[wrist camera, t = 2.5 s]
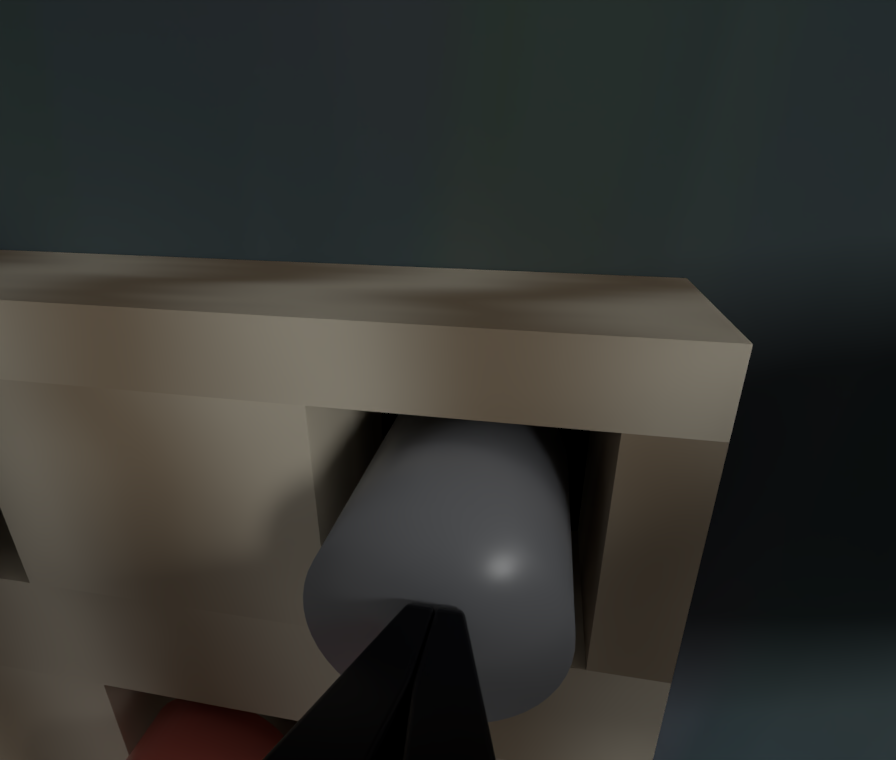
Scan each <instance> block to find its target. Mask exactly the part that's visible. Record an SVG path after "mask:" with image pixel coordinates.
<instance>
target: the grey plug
mask: <svg viewBox="0 0 896 760" xmlns="http://www.w3.org/2000/svg"><path fill="white" fill-rule="evenodd" d="M410 603H413V604H420V605H427V606H432V607H433V608H434V609H435V611H436V610H437V609H438V608H448V609H455V610H461V611H463V612H464V614H465V617H466V621H467V626H468V630H469V635H470V640H471V645H472V649H473V654H474V659H475V663H476V668H477V673H478V677H479V682H480V687H481V692H482V696H483V701H484V706H485V710H486V715H487V720H488V722H493V721H499V720H503V719H506V718H510V717H514V716H516V715H519V714H521V713H524V712H526V711H528V710H530V709H532V708H533V707H535V706H537V705H539V704H540V703H541V702H543V701H544V700H545V699H547V698H548V697H549V696H550V695H551V694H552V693H553V692H554V691H555V690H556V689H557V688H558V687H559V686H560V684H561V683H562V681H563V680H564V678H565V677H566V676H567V673H568V671H569V669H570V666H571V664H572V661H573V656H574V652H575V638H576V635H575V612H574V589H573V566H572V543H571V520H570V497H569V474H568V459H567V451H566V448H565V444H564V441H563V439H562V436H561V434H560V432H559V430H558V428H557V427H545V426H534V425H522V424H511V423H499V422H488V421H476V420H465V419H453V418H441V417H430V416H418V415H407V414H399V415H398V416H397V418H396V419H395V421H394V423H393V424H392V426H391V428H390V430H389V431H388V433H387V435H386V436H385V438H384V440H383V442H382V443H381V445H380V447H379V448H378V450H377V452H376V454H375V455H374V457H373V459H372V460H371V462H370V464H369V466H368V467H367V469H366V471H365V472H364V474H363V476H362V478H361V479H360V481H359V483H358V484H357V486H356V488H355V490H354V491H353V493H352V495H351V496H350V498H349V500H348V502H347V503H346V505H345V507H344V508H343V510H342V512H341V514H340V515H339V517H338V519H337V520H336V522H335V524H334V526H333V527H332V529H331V531H330V532H329V534H328V536H327V538H326V539H325V541H324V543H323V545H322V546H321V548H320V550H319V551H318V553H317V555H316V557H315V558H314V560H313V562H312V564H311V566H310V568H309V570H308V573H307V576H306V579H305V582H304V590H303V608H304V613H305V618H306V622H307V625H308V628H309V630H310V633H311V635H312V637H313V639H314V641H315V643H316V645H317V647H318V648H319V650H320V651H321V653H322V654H323V655H324V657H325V658H326V660H327V661H328V662H329V663H330V664H331V665H332V666H333V668H334V669H335V670H336V671H337V672H338V673H339V674H340V675H341V674H342V673H343V672H344V671H345V670H346V669H347V668H348V667H349V666H350V665H351V663H352V662H353V661H354V660H355V659H356V658H357V657H358V656H359V655H360V654H361V653H362V652H363V651H364V649H365V648H366V647H367V646H368V645H369V644H370V643H371V642H372V641H373V640H374V639H375V638H376V637H377V635H378V634H379V633H380V632H381V631H382V630H383V629H384V628H385V627H386V626H387V625H388V624H389V622H390V621H391V620H392V619H393V618H394V617H395V616H396V615H397V614H398V613H399V612H400V611H401V610H402V608H403V607H404V606H406V605H407V604H410Z"/></svg>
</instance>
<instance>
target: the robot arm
mask: <svg viewBox="0 0 896 760" xmlns="http://www.w3.org/2000/svg"><path fill="white" fill-rule="evenodd" d="M262 760H496V757H495V753H494V748H493V743H492V739H491V734H490V729H489V724H488V720H487V715H486V710H485V706H484V701H483V696H482V692H481V687H480V682H479V677H478V673H477V668H476V663H475V659H474V654H473V649H472V645H471V640H470V635H469V630H468V626H467V621H466V617H465V614H464V612H463V611H461V610H455V609H448V608H438V609H437V610H436V611H435V609H434V608H433V607H432V606H427V605H420V604H413V603H410V604H407V605H406V606H404V607H403V608H402V610H401V611H400V612H399V613H398V614H397V615H396V616H395V617H394V618H393V619H392V620H391V621H390V622H389V624H388V625H387V626H386V627H385V628H384V629H383V630H382V631H381V632H380V633H379V634H378V635H377V637H376V638H375V639H374V640H373V641H372V642H371V643H370V644H369V645H368V646H367V647H366V648H365V649H364V651H363V652H362V653H361V654H360V655H359V656H358V657H357V658H356V659H355V660H354V661H353V662H352V663H351V665H350V666H349V667H348V668H347V669H346V670H345V671H344V672H343V673H342V674H341V675H340V676H339V677H338V679H337V680H336V681H335V682H334V683H333V684H332V685H331V686H330V687H329V688H328V689H327V690H326V691H325V693H324V694H323V695H322V696H321V697H320V698H319V699H318V700H317V701H316V702H315V703H314V704H313V705H312V707H311V708H310V709H309V710H308V711H307V712H306V713H305V714H304V715H303V716H302V717H301V718H300V720H299V721H298V722H297V723H296V724H295V725H294V726H293V727H292V728H291V729H290V730H289V731H288V732H287V734H286V735H285V736H284V737H283V738H282V739H281V740H280V741H279V742H278V743H277V744H276V745H275V746H274V748H273V749H272V750H271V751H270V752H269V753H268V754H267V755H266V756H265V757H264V758H263V759H262Z"/></svg>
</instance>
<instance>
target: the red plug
mask: <svg viewBox="0 0 896 760" xmlns="http://www.w3.org/2000/svg"><path fill="white" fill-rule="evenodd" d="M283 737H284V735H283V734H282V733H281V732H280V731H279V730H278V729H277V728H275V727H274V726H273V725H272V724H271V723H270V722H268V721H267V720H265V719H264V718H263V717H261V716H259V715H258V714H256V713H252V712H247V711H242V710H236V709H231V708H226V707H220V706H215V705H210V704H204V703H199V702H194V701H188V700H183V699H175V700H172V701H171V702H169V703H167V704H166V705H165V706H164V707H163V708H162V709H161V710H160V712H159V713H158V715H157V716H156V718H155V719H154V720H153V722H152V723H151V725H150V726H149V728H148V729H147V730H146V732H145V733H144V735H143V736H142V738H141V739H140V740H139V742H138V743H137V745H136V746H135V748H134V749H133V751H132V752H131V753H130V755H129V756H128V758H127V759H126V760H262V759H263V758H264V757H265V756H266V755H267V754H268V753H269V752H270V751H271V750H272V749H273V748H274V746H275V745H276V744H277V743H278V742H279V741H280V740H281V739H282V738H283Z"/></svg>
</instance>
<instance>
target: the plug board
mask: <svg viewBox="0 0 896 760" xmlns="http://www.w3.org/2000/svg"><path fill="white" fill-rule="evenodd" d="M752 346H753V344H752V343H751V342H750V341H749V340H748V339H747V338H746V337H745V336H744V335H743V334H742V333H741V332H740V331H739V330H738V329H737V328H736V327H735V326H734V325H733V324H732V323H731V322H730V321H729V320H728V319H727V318H726V317H725V316H724V315H723V314H722V313H721V312H720V311H719V310H718V309H717V308H716V307H715V306H714V305H713V304H712V303H711V302H710V301H709V300H708V299H707V298H706V297H705V296H704V295H703V294H702V293H701V292H700V291H699V290H698V289H697V288H696V287H695V286H694V285H693V284H692V283H691V282H690V281H689V280H688V279H687V278H669V277H645V276H620V275H596V274H572V273H548V272H523V271H499V270H475V269H451V268H426V267H402V266H378V265H354V264H329V263H305V262H281V261H256V260H232V259H208V258H184V257H159V256H135V255H111V254H87V253H62V252H38V251H14V250H0V760H126V759H127V758H128V756H129V755H130V753H131V752H132V751H133V749H134V748H135V746H136V745H137V743H138V742H139V740H140V739H141V738H142V736H143V735H144V733H145V732H146V730H147V729H148V728H149V726H150V725H151V723H152V722H153V720H154V719H155V718H156V716H157V715H158V713H159V712H160V710H161V709H162V708H163V707H164V706H165V705H166V704H167V703H169V702H171V701H172V700H175V699H183V700H188V701H194V702H199V703H204V704H210V705H215V706H220V707H226V708H231V709H236V710H242V711H247V712H252V713H256V714H258V715H259V716H261V717H263V718H264V719H265V720H267V721H268V722H270V723H271V724H272V725H273V726H274V727H275V728H277V729H278V730H279V731H280V732H281V733H282V734H283V735H284V736H285V735H286V734H287V732H288V731H289V730H290V729H291V728H292V727H293V726H294V725H295V724H296V723H297V722H298V721H299V720H300V718H301V717H302V716H303V715H304V714H305V713H306V712H307V711H308V710H309V709H310V708H311V707H312V705H313V704H314V703H315V702H316V701H317V700H318V699H319V698H320V697H321V696H322V695H323V694H324V693H325V691H326V690H327V689H328V688H329V687H330V686H331V685H332V684H333V683H334V682H335V681H336V680H337V679H338V677H339V676H340V674H339V673H338V672H337V671H336V670H335V669H334V668H333V666H332V665H331V664H330V663H329V662H328V661H327V660H326V658H325V657H324V655H323V654H322V653H321V651H320V650H319V648H318V647H317V645H316V643H315V641H314V639H313V637H312V635H311V633H310V630H309V628H308V625H307V622H306V618H305V613H304V608H303V590H304V582H305V579H306V576H307V573H308V570H309V568H310V566H311V564H312V562H313V560H314V558H315V557H316V555H317V553H318V551H319V550H320V548H321V546H322V545H323V543H324V541H325V539H326V538H327V536H328V534H329V532H330V531H331V529H332V527H333V526H334V524H335V522H336V520H337V519H338V517H339V515H340V514H341V512H342V510H343V508H344V507H345V505H346V503H347V502H348V500H349V498H350V496H351V495H352V493H353V491H354V490H355V488H356V486H357V484H358V483H359V481H360V479H361V478H362V476H363V474H364V472H365V471H366V469H367V467H368V466H369V464H370V462H371V460H372V459H373V457H374V455H375V454H376V452H377V450H378V448H379V447H380V445H381V443H382V442H383V435H382V415H381V412H384V413H395V414H407V415H418V416H430V417H441V418H453V419H465V420H476V421H488V422H499V423H511V424H522V425H534V426H545V427H557V428H568V429H580V430H590V435H589V443H588V451H587V459H586V468H585V476H584V484H583V492H582V500H581V508H580V517H579V525H578V531H571V543H572V566H573V589H574V612H575V635H576V638H575V652H574V656H573V661H572V664H571V666H570V669H569V671H568V673H567V676H566V677H565V678H564V680H563V681H562V683H561V684H560V686H559V687H558V688H557V689H556V690H555V691H554V692H553V693H552V694H551V695H550V696H549V697H548V698H547V699H545V700H544V701H543V702H541V703H540V704H539V705H537V706H535V707H533V708H532V709H530V710H528V711H526V712H524V713H521V714H519V715H516V716H514V717H510V718H506V719H503V720H499V721H493V722H488V724H489V729H490V734H491V739H492V743H493V748H494V753H495V757H496V760H653V757H654V753H655V748H656V744H657V740H658V736H659V732H660V728H661V724H662V719H663V715H664V711H665V707H666V703H667V699H668V695H669V690H670V686H671V682H672V678H673V674H674V670H675V665H676V661H677V657H678V653H679V649H680V645H681V641H682V636H683V632H684V628H685V624H686V620H687V616H688V612H689V607H690V603H691V599H692V595H693V591H694V587H695V583H696V578H697V574H698V570H699V566H700V562H701V558H702V554H703V549H704V545H705V541H706V537H707V533H708V529H709V524H710V520H711V516H712V512H713V508H714V504H715V500H716V495H717V491H718V487H719V483H720V479H721V475H722V471H723V466H724V462H725V458H726V454H727V450H728V446H729V442H730V437H731V433H732V429H733V425H734V421H735V417H736V413H737V408H738V404H739V400H740V396H741V392H742V388H743V384H744V379H745V375H746V371H747V367H748V363H749V359H750V354H751V350H752Z"/></svg>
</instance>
